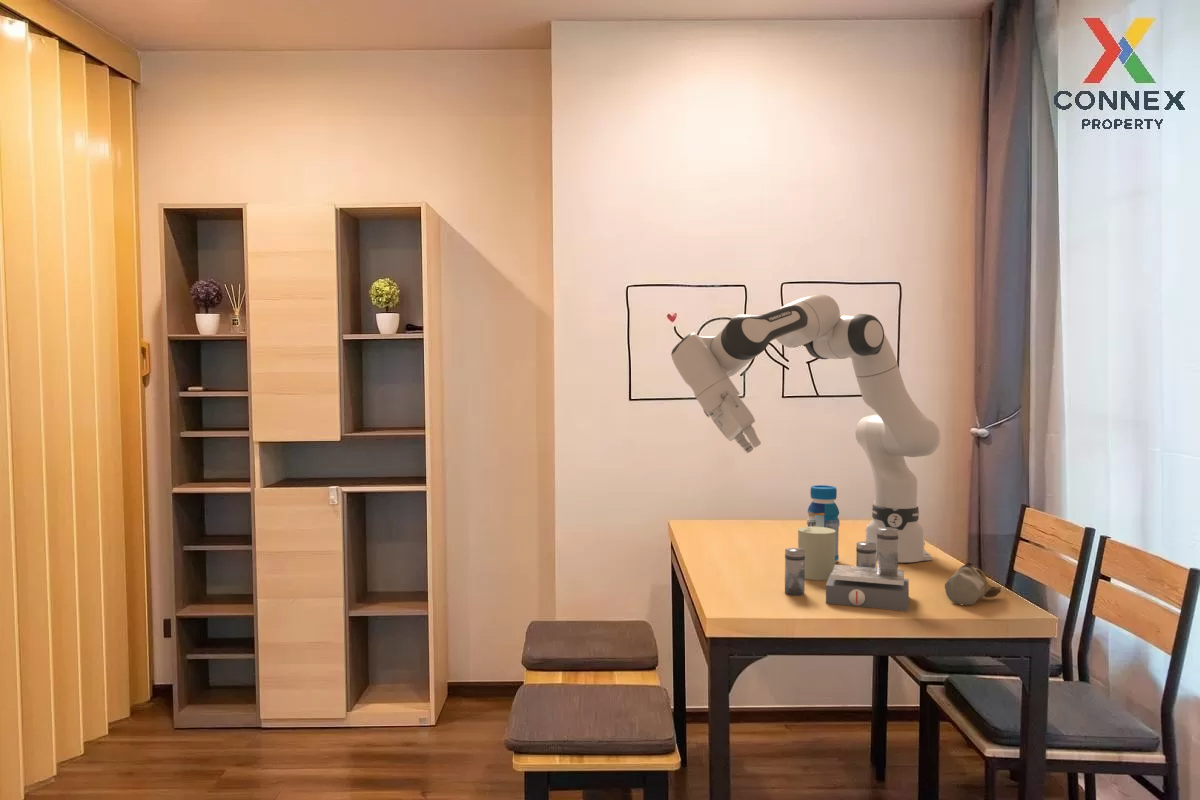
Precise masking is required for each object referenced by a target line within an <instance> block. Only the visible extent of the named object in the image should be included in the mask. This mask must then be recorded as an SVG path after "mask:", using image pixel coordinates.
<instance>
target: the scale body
mask: <svg viewBox="0 0 1200 800" xmlns="http://www.w3.org/2000/svg"><path fill="white" fill-rule="evenodd" d="M831 574H832V573H830V576H829V579H828V580H826V581H827V582H826V585H825V604H827V605H828V604H830V605H839V606H840V605H842V606H849V607H850V606H851V607H861V608H872V609H879V610H880V609H882V610H893V611H902V612H903V611H904V612H909V604H910V603H909V595H910V594H909V591H910V589H909V588H910V587H909V586H910V585H909V584H910V581H909V578H904V585H892V584H881V583H869V582H858V581H846V580H835V579H831Z"/></svg>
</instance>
